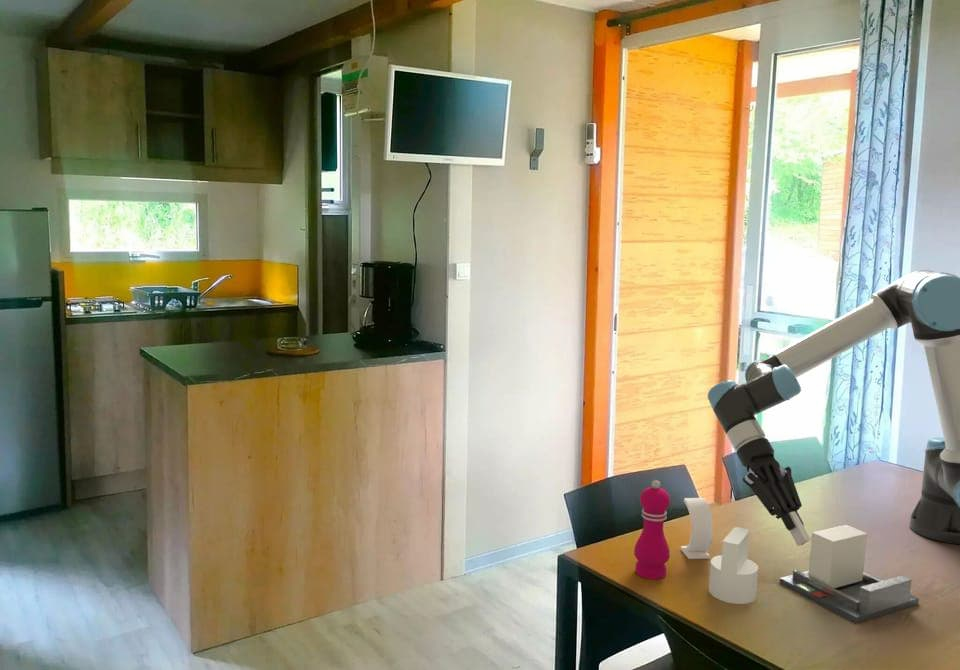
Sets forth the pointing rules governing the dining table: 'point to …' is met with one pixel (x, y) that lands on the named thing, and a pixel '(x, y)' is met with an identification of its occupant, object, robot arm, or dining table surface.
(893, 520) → the dining table surface
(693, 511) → the headphone stand
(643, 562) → the pepper mill
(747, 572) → the base with upright slab
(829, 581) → the white block
